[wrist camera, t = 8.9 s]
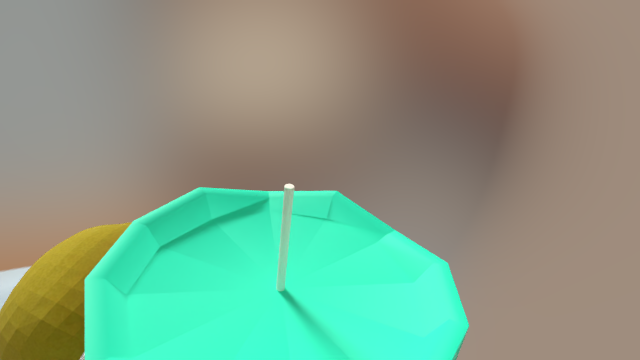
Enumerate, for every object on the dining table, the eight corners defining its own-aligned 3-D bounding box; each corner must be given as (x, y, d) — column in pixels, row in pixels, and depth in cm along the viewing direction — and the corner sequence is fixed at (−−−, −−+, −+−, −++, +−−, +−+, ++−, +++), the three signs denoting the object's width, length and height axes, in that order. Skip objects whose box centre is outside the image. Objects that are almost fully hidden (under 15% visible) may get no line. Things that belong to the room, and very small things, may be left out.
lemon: (117, 485, 18) (90, 364, 14) (-38, 436, 19) (-102, 309, 15) (221, 307, 28) (221, 204, 24) (113, 279, 29) (97, 177, 25)
